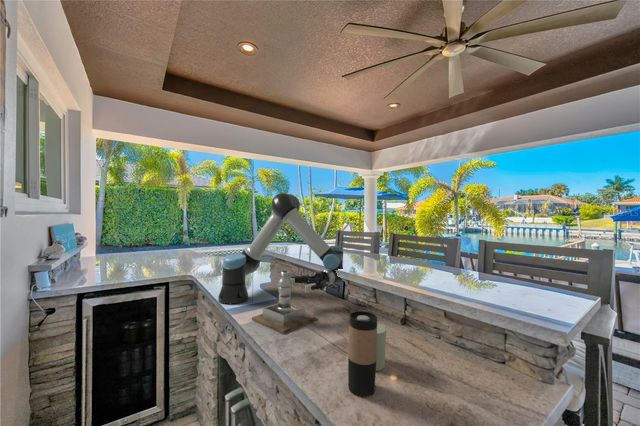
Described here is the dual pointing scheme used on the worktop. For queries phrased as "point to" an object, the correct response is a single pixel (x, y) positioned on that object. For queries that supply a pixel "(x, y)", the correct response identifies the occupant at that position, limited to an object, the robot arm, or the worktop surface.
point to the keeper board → (287, 327)
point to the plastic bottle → (284, 294)
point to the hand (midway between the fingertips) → (294, 286)
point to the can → (380, 347)
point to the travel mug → (362, 353)
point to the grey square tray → (281, 319)
